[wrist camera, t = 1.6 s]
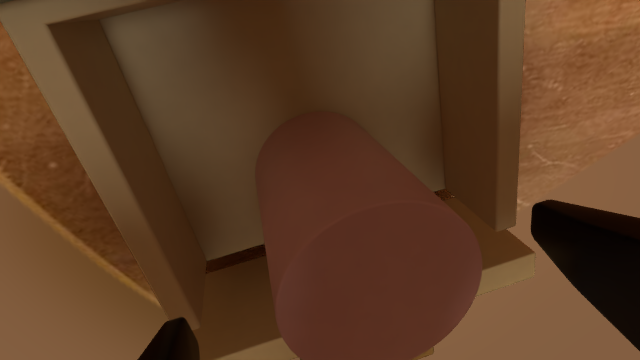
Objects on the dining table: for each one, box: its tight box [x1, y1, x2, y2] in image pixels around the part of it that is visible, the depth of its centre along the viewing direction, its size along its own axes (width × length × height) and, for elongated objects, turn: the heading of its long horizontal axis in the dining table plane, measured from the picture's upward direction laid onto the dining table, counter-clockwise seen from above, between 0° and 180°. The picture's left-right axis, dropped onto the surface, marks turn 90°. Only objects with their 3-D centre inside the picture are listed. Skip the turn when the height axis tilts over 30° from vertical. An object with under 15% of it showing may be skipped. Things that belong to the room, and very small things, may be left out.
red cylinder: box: [255, 111, 482, 360], centre depth 11 cm, size 5×5×7 cm
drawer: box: [0, 0, 536, 360], centre depth 14 cm, size 17×13×5 cm
